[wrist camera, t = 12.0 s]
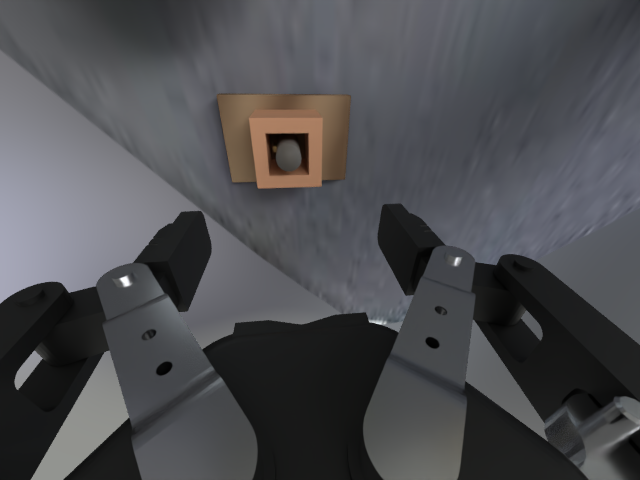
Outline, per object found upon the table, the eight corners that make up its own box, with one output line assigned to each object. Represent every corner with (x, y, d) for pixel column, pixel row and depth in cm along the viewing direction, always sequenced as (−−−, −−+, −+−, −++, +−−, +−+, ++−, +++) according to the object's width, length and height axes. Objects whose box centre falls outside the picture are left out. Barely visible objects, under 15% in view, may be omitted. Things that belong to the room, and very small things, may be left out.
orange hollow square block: (316, 109, 24) (322, 117, 20) (315, 168, 27) (321, 186, 23) (255, 109, 23) (248, 118, 19) (261, 170, 26) (257, 188, 22)
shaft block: (347, 94, 25) (368, 102, 19) (342, 174, 29) (358, 202, 23) (220, 93, 24) (197, 101, 17) (234, 177, 28) (220, 207, 22)
